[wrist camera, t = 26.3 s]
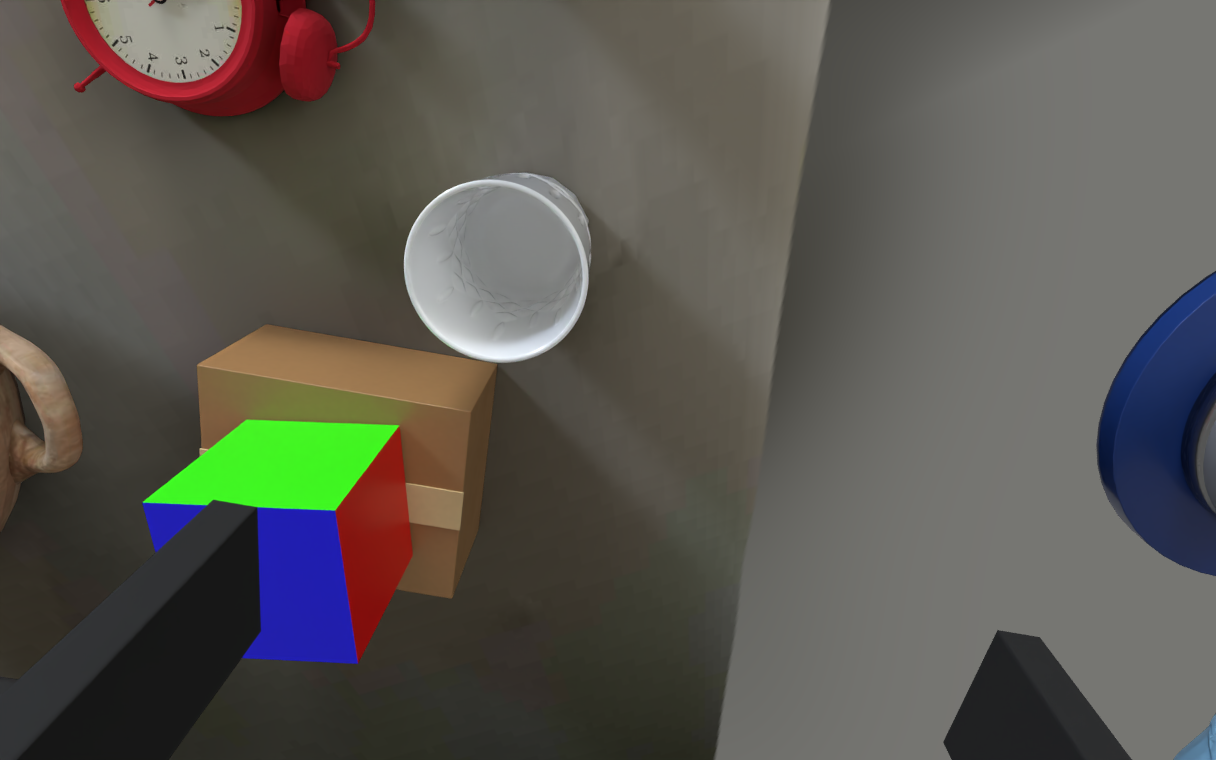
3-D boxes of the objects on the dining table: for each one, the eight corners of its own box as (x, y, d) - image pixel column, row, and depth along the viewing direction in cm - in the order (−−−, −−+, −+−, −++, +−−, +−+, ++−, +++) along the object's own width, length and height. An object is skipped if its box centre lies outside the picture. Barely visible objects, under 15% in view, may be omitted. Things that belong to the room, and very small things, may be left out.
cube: (412, 555, 38) (358, 663, 31) (271, 549, 38) (183, 655, 31) (399, 425, 35) (334, 510, 28) (246, 419, 35) (142, 502, 28)
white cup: (579, 144, 36) (558, 157, 27) (616, 285, 39) (608, 340, 30) (440, 182, 38) (375, 207, 28) (486, 317, 40) (440, 380, 31)
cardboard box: (498, 363, 41) (472, 412, 35) (479, 529, 46) (452, 600, 39) (265, 323, 41) (193, 365, 34) (268, 494, 46) (206, 560, 39)
